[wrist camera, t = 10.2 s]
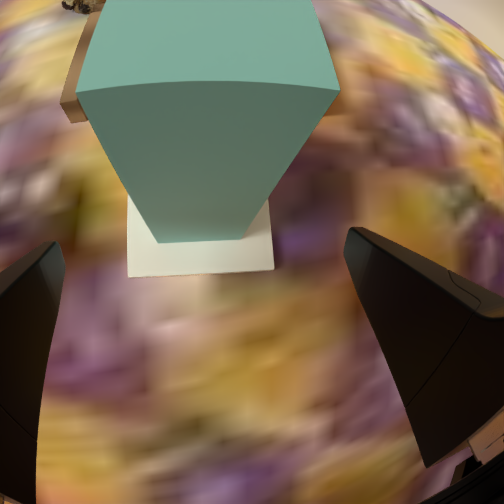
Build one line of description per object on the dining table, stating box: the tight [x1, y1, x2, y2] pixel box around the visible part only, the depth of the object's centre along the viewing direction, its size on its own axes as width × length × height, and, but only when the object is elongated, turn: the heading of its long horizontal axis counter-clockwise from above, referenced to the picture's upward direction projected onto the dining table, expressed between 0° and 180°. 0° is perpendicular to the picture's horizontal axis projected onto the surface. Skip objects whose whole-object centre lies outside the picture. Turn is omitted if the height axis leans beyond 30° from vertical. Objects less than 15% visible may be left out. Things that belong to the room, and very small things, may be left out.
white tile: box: [127, 194, 274, 278], centre depth 18 cm, size 8×8×1 cm
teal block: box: [75, 0, 341, 244], centre depth 11 cm, size 4×4×13 cm
